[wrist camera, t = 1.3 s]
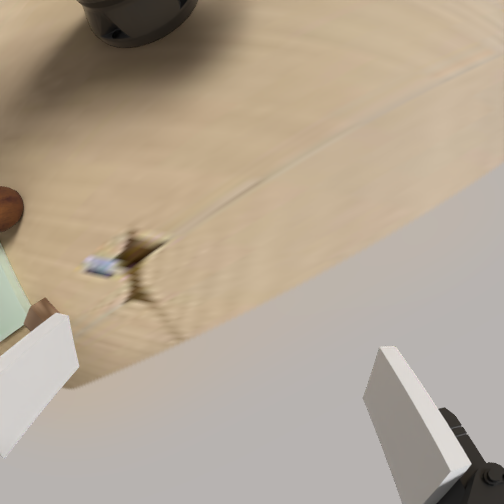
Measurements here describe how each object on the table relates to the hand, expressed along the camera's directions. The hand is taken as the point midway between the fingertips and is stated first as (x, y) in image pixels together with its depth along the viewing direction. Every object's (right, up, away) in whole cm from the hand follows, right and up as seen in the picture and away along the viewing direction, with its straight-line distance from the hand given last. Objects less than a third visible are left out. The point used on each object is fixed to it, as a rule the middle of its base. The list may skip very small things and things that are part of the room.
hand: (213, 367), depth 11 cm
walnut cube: (-29, -5, +27) cm, 40 cm away
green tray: (-42, -3, +26) cm, 50 cm away
